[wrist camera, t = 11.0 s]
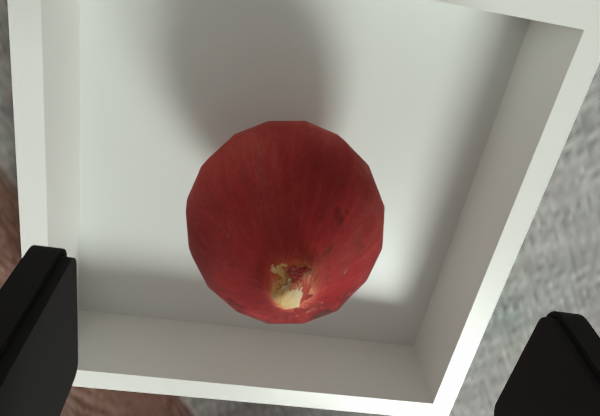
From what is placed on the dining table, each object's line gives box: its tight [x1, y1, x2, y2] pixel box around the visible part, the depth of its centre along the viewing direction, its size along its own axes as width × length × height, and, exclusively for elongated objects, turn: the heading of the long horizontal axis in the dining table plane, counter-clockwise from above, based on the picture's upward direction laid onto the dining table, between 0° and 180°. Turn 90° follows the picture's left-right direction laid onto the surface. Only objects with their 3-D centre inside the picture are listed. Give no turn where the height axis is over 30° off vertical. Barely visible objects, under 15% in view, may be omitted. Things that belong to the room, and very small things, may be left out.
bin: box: [7, 0, 600, 416], centre depth 19 cm, size 16×16×4 cm
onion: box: [186, 121, 385, 324], centre depth 16 cm, size 6×6×8 cm
